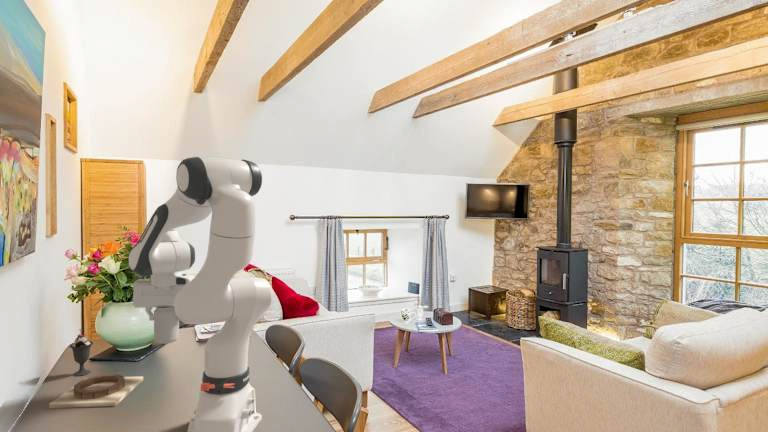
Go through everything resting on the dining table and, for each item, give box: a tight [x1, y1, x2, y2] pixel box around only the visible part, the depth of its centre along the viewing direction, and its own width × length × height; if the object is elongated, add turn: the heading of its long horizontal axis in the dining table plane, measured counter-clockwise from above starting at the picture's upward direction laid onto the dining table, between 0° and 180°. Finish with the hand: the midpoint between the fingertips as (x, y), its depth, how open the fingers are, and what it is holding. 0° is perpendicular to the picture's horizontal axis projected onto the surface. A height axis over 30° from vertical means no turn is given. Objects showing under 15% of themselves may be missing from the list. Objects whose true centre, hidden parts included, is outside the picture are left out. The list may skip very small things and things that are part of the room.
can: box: [153, 307, 180, 345], centre depth 145 cm, size 8×8×12 cm
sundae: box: [69, 328, 94, 377], centre depth 149 cm, size 7×7×15 cm
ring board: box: [48, 373, 144, 409], centre depth 135 cm, size 18×18×3 cm
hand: (166, 319), depth 145 cm, fingers closed on can, 7 cm apart
